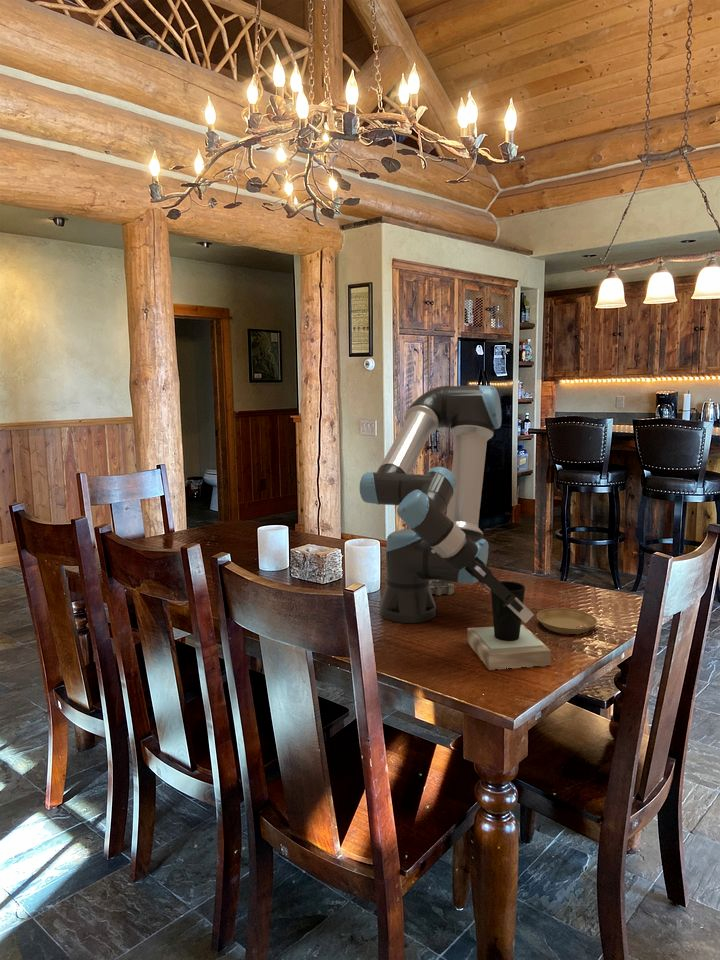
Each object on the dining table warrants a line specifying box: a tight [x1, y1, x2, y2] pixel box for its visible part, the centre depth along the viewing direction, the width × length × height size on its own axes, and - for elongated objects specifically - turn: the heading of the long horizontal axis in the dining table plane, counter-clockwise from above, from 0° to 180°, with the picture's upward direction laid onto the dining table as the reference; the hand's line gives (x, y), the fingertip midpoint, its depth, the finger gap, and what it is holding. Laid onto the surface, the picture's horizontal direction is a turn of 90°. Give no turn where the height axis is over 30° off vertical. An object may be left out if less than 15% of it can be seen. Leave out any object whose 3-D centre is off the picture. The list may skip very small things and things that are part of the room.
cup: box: [490, 580, 526, 641], centre depth 149 cm, size 8×8×12 cm
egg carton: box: [429, 580, 456, 596], centre depth 196 cm, size 11×8×4 cm
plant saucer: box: [536, 607, 598, 635], centre depth 166 cm, size 15×15×3 cm
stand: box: [466, 624, 552, 671], centre depth 150 cm, size 16×14×4 cm
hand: (517, 608), depth 149 cm, fingers open, 13 cm apart
